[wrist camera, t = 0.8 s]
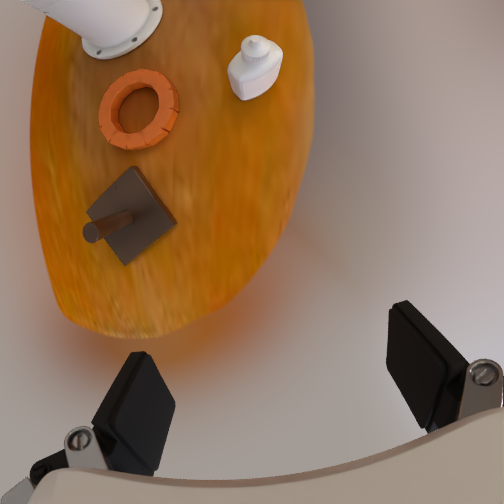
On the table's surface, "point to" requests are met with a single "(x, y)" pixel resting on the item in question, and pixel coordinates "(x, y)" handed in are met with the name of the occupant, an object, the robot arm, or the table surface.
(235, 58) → the eye dropper bottle
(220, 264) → the table surface
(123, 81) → the ring
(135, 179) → the post
